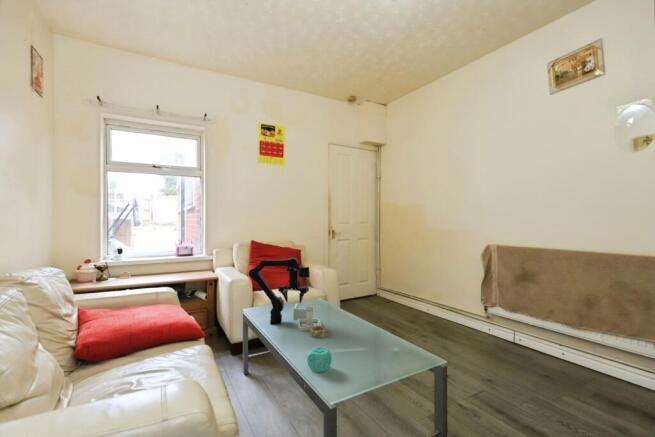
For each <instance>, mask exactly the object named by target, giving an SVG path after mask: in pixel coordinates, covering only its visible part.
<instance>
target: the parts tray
mask: <svg viewBox="0 0 655 437" xmlns="http://www.w3.org/2000/svg"><path fill="white" fill-rule="evenodd" d="M296 323H297V326H298V330H299V332H300V331H301V332H302V331H307V332H308V331H310V326H306V325H305V326H301V324H302V323H305V324H306V319H297V320H296ZM313 323H317V324H318V326H323V324H322V323H321V320H320V319H319V318H313Z"/></svg>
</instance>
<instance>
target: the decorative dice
mask: <svg viewBox="0 0 655 437" xmlns="http://www.w3.org/2000/svg"><path fill="white" fill-rule="evenodd" d="M332 359H333V358H332V353H331V351H330V350H329V349H328V348H327V347H324V346H315V347H313V348H311V350H309V352H308V354H307V361H306V362H307V365H308V367H309V369H310V370H311V371H312V370H313V372H314V371H315V372H314V373H318V372H322V373H325V372H327V371H328V370H329V369H330V367H331V365H332Z"/></svg>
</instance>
